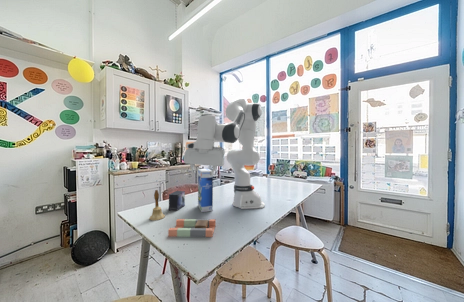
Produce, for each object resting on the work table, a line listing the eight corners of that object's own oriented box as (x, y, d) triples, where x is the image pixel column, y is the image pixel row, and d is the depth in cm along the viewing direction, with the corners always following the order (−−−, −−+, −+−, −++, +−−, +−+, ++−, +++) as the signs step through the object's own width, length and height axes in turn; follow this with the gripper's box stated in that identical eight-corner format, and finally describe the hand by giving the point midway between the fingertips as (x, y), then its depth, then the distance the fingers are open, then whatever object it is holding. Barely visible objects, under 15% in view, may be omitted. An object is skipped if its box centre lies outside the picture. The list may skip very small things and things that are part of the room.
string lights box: (197, 205, 120) (197, 168, 119) (208, 204, 123) (208, 168, 122) (201, 212, 107) (201, 171, 107) (213, 210, 110) (213, 170, 110)
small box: (177, 211, 110) (177, 194, 110) (168, 210, 111) (168, 194, 111) (185, 205, 120) (185, 190, 120) (176, 205, 121) (176, 190, 121)
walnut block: (208, 228, 87) (207, 220, 87) (205, 234, 81) (205, 225, 81) (198, 227, 87) (198, 220, 87) (195, 233, 81) (195, 225, 81)
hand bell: (150, 221, 94) (150, 192, 94) (148, 217, 101) (147, 189, 100) (166, 218, 99) (166, 190, 99) (162, 213, 106) (162, 187, 105)
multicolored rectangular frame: (215, 225, 90) (215, 219, 90) (212, 237, 78) (212, 230, 78) (177, 224, 90) (177, 219, 90) (168, 236, 78) (168, 229, 78)
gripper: (226, 147, 85) (224, 176, 84) (189, 146, 91) (187, 172, 90) (222, 146, 79) (220, 176, 78) (183, 144, 85) (180, 172, 84)
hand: (202, 174), depth 84 cm, fingers open, 8 cm apart
